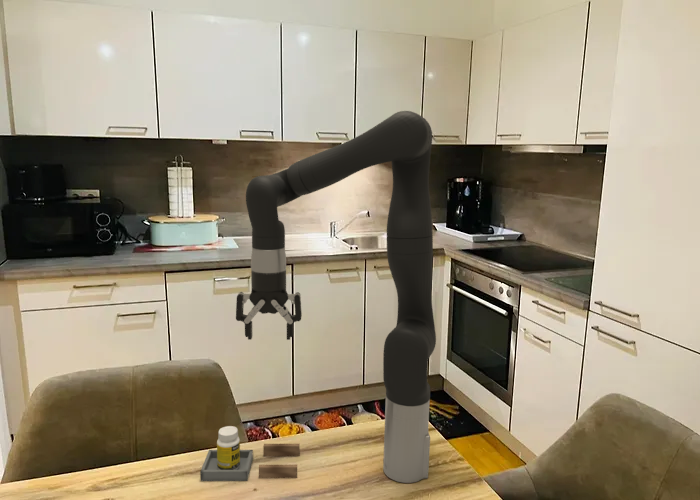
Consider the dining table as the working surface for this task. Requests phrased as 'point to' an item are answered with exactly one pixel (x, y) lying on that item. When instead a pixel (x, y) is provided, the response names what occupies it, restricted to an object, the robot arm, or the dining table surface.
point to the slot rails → (279, 470)
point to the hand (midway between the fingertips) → (269, 338)
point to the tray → (213, 474)
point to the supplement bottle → (228, 449)
